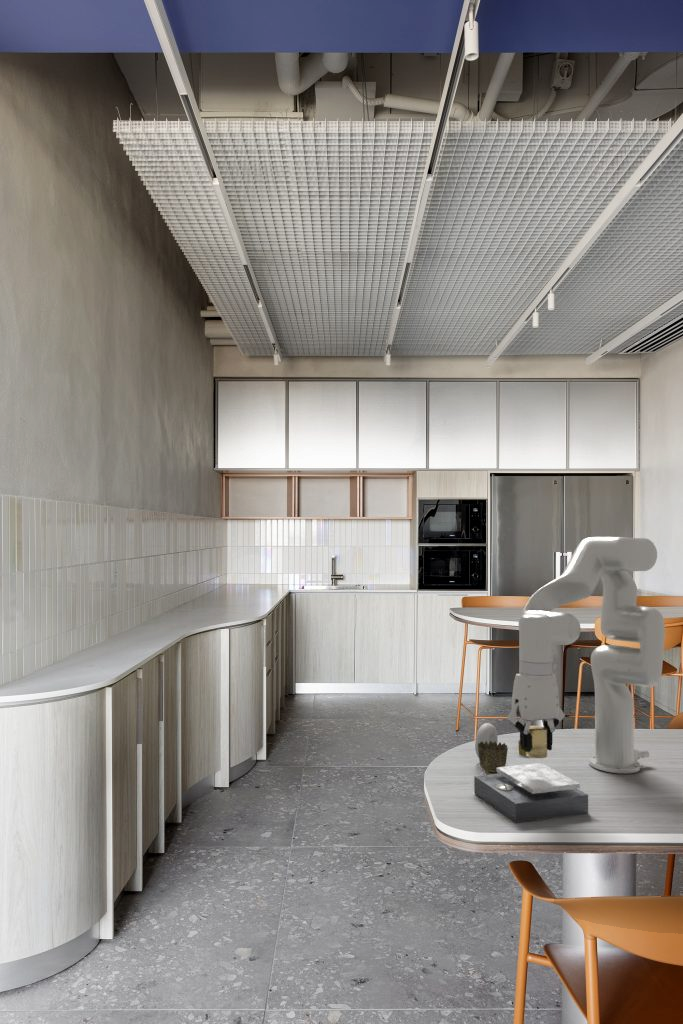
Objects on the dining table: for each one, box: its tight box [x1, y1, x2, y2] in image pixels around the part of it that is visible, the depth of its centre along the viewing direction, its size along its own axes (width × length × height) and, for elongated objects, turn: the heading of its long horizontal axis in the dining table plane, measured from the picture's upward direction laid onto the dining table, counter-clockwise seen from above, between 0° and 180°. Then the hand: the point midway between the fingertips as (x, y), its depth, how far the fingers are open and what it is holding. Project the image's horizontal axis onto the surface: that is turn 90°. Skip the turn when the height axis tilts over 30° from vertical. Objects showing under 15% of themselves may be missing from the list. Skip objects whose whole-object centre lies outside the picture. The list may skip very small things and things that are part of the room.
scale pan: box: [496, 762, 581, 794], centre depth 160 cm, size 12×15×1 cm
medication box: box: [518, 739, 526, 756], centre depth 201 cm, size 12×3×4 cm, turn 156°
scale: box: [473, 774, 589, 824], centre depth 160 cm, size 18×18×4 cm
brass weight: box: [524, 725, 548, 759], centre depth 160 cm, size 5×5×6 cm
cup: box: [478, 741, 509, 775], centre depth 177 cm, size 8×7×8 cm
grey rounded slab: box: [474, 722, 498, 759], centre depth 190 cm, size 10×3×10 cm, turn 146°
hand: (536, 748), depth 160 cm, fingers closed on brass weight, 4 cm apart
